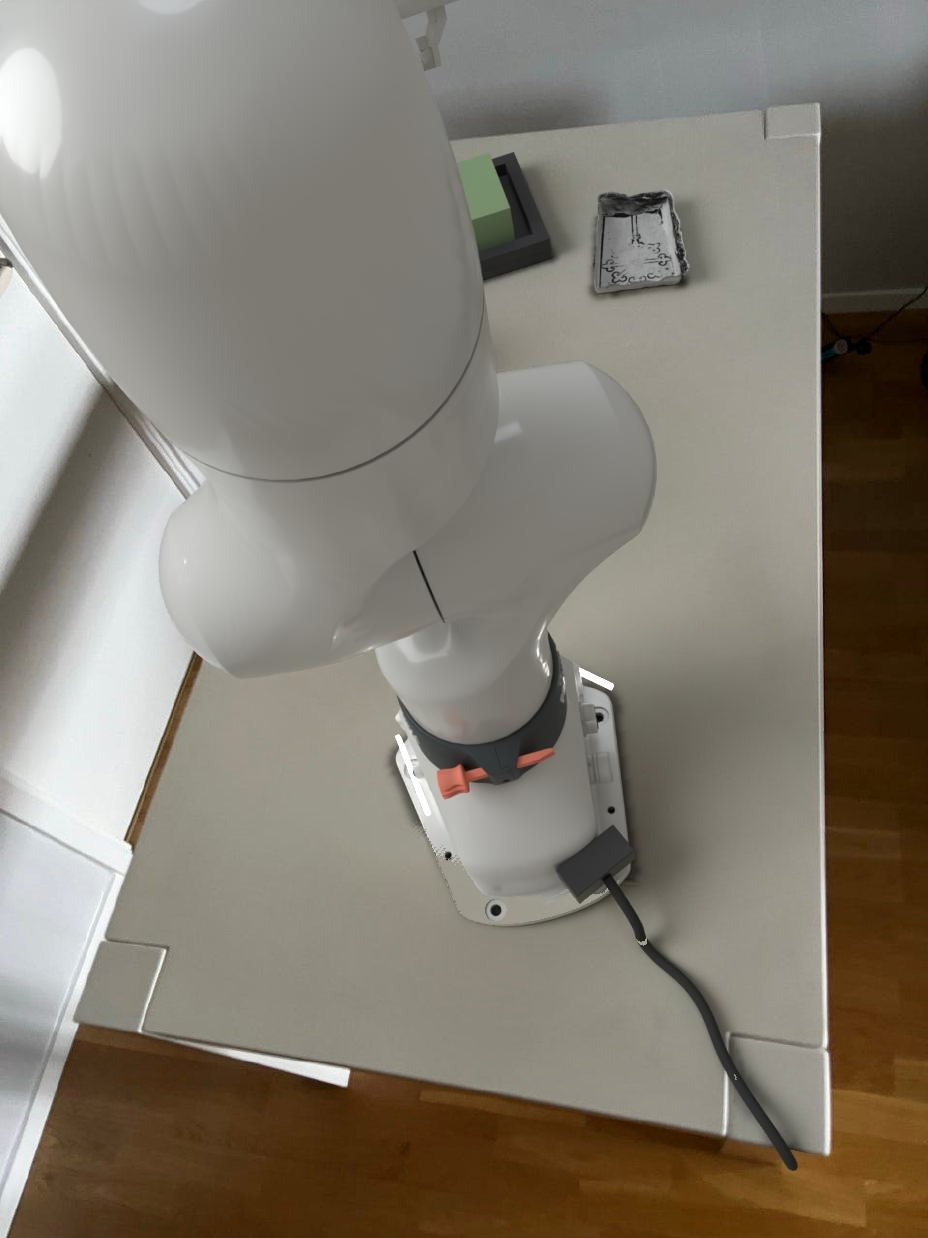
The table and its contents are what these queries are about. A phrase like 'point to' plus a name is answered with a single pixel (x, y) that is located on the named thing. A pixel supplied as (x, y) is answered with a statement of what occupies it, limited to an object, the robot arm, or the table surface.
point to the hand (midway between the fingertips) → (374, 83)
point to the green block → (486, 202)
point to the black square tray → (517, 225)
